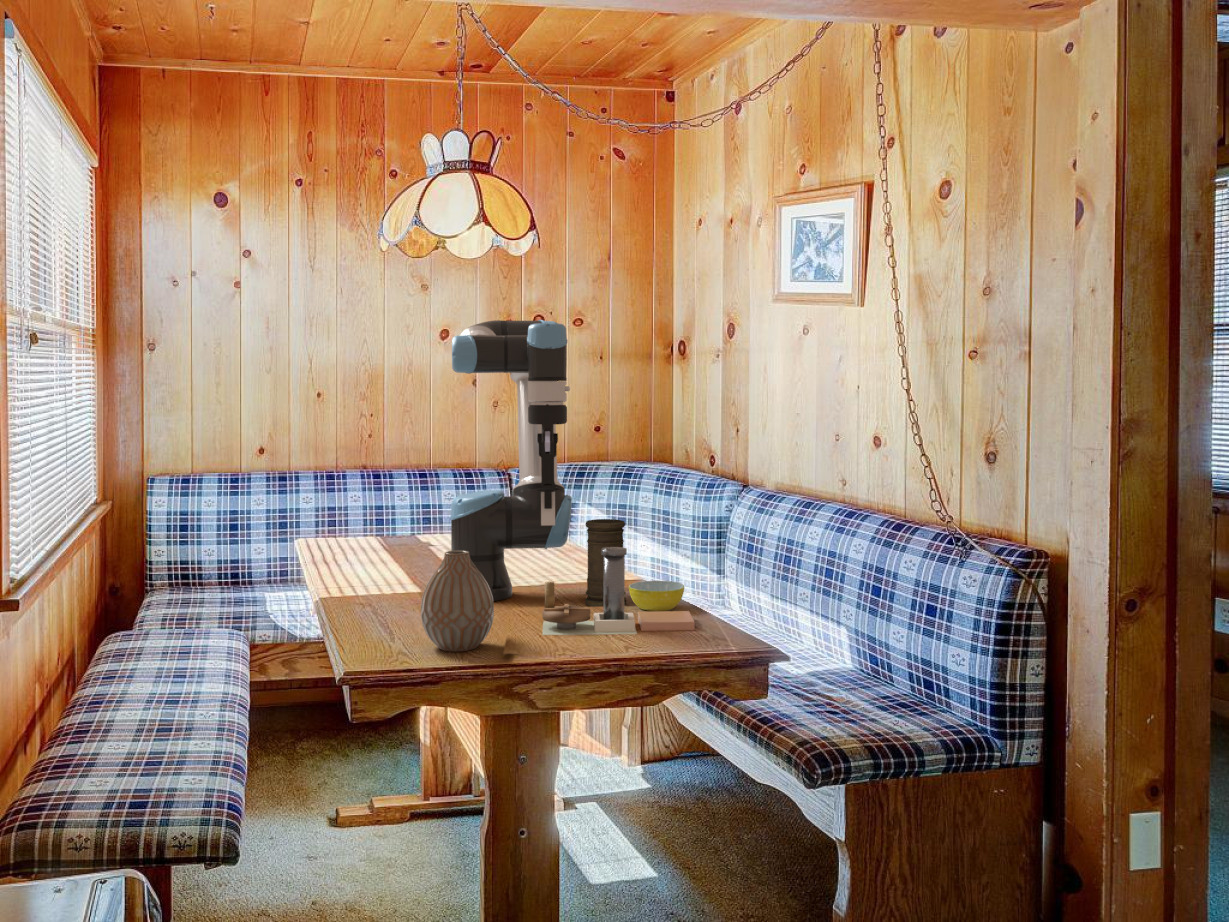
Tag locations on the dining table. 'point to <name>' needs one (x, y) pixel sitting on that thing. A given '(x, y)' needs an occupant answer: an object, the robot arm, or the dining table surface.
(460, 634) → the vase
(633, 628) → the plate
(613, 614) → the metal flanged cylinder
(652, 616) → the rest tile
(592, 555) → the container
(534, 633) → the dining table surface
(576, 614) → the handwheel
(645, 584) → the bowl
